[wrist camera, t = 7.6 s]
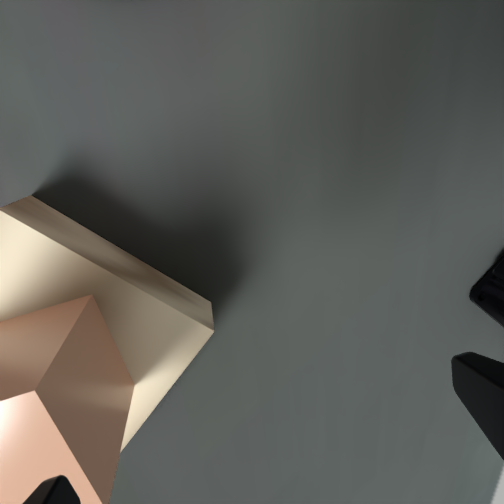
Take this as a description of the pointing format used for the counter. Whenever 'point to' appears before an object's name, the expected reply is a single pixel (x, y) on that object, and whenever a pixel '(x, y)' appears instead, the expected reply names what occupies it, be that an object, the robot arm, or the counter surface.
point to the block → (61, 401)
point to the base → (103, 296)
